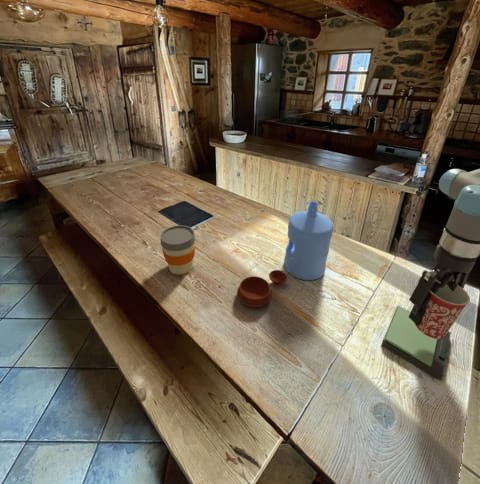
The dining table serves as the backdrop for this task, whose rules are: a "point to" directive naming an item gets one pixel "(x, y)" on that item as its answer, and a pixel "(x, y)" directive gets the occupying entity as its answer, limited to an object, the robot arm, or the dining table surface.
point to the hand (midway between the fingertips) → (426, 316)
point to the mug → (443, 311)
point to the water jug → (308, 243)
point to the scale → (416, 344)
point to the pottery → (259, 289)
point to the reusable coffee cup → (178, 248)
